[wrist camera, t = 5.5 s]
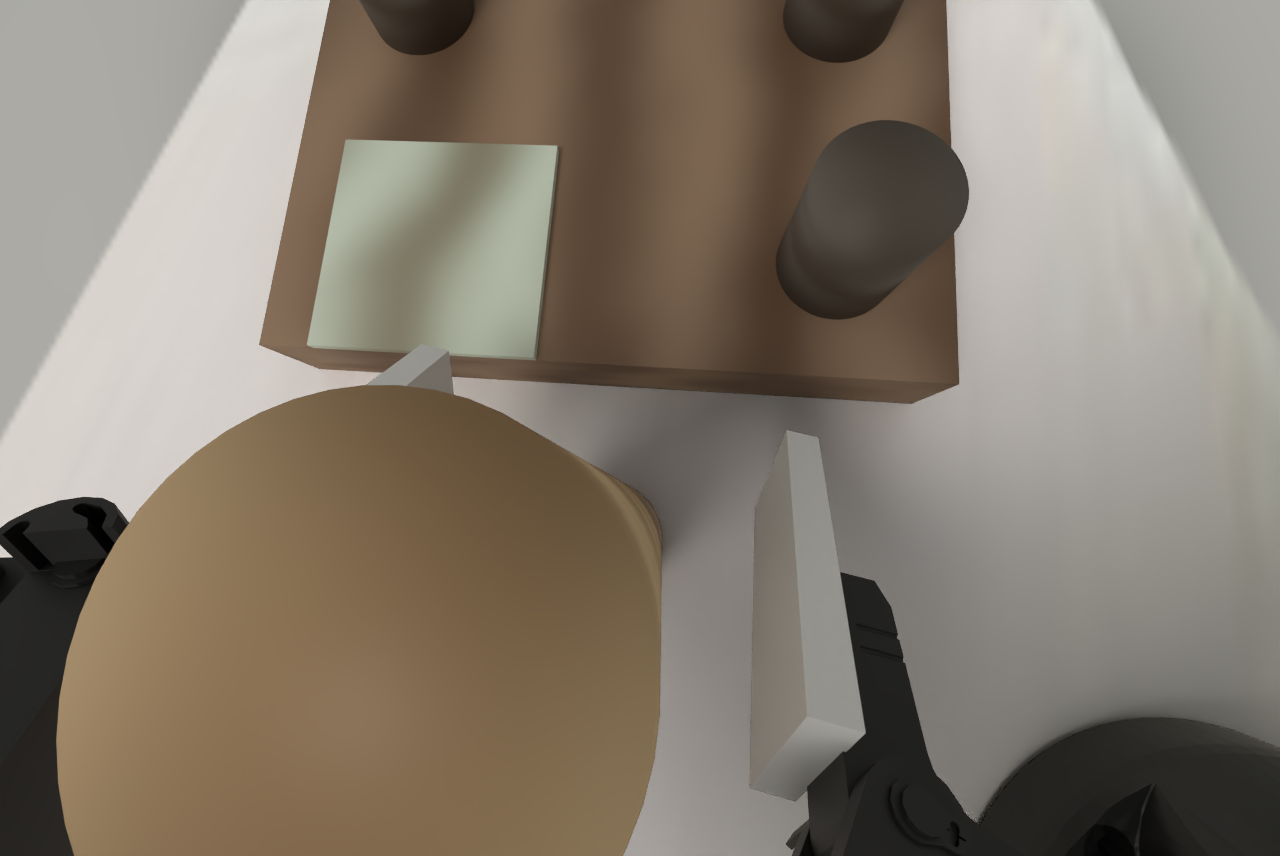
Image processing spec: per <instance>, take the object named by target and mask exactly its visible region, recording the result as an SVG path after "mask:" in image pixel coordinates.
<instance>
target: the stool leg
mask: <svg viewBox="0 0 1280 856" xmlns="http://www.w3.org/2000/svg"><path fill="white" fill-rule="evenodd" d="M661 581H662V532H661V526H660V522H659V519H658V517H657V514H656V512H655V510H654V509H653V507H652V505H651V504H650V503H649V501H648V500H647V499H646V498H645V497H644V496H643V495H642V494H640V493H639V492H638V491H636V490H635V489H633V488H631V487H630V486H628V485H626V484H625V483H623V482H621V481H619V480H618V479H616V478H614V477H612V476H611V475H609V474H607V473H605V472H604V471H602V470H600V469H598V468H597V467H595V466H593V465H592V464H590V463H588V462H586V461H585V460H583V459H581V458H579V457H578V456H576V455H574V454H572V453H571V452H569V451H567V450H565V449H564V448H562V447H560V446H559V445H557V444H555V443H553V442H552V441H550V440H548V439H546V438H545V437H543V436H541V435H539V434H538V433H536V432H534V431H532V430H531V429H529V428H527V427H526V426H524V425H522V424H520V423H519V422H517V421H515V420H513V419H512V418H510V417H508V416H506V415H505V414H503V413H501V412H499V411H496V410H494V409H492V408H489V407H487V406H484V405H482V404H480V403H477V402H475V401H473V400H470V399H467V398H464V397H460V396H456V395H452V394H449V393H445V392H441V391H438V390H433V389H425V388H418V387H410V386H402V385H362V386H355V387H348V388H340V389H333V390H327V391H323V392H319V393H315V394H312V395H308V396H304V397H300V398H297V399H293V400H291V401H288V402H286V403H283V404H281V405H278V406H276V407H273V408H271V409H268V410H266V411H263V412H261V413H258V414H257V415H255V416H253V417H251V418H249V419H247V420H246V421H244V422H242V423H240V424H238V425H236V426H235V427H233V428H231V429H229V430H227V431H226V432H224V433H223V434H221V435H220V436H219V437H217V438H216V439H214V440H213V441H212V442H210V443H209V444H207V445H206V446H205V447H203V448H202V449H200V450H199V451H197V452H196V453H195V454H194V455H193V456H191V457H190V458H189V459H188V460H187V461H186V462H185V463H184V464H182V465H181V466H180V467H179V468H178V469H177V470H176V471H175V472H173V473H172V474H171V475H170V476H169V477H168V478H167V479H166V480H165V481H164V482H163V483H162V484H161V485H160V486H159V488H158V489H157V490H156V491H155V492H154V493H153V494H152V495H151V497H150V498H149V499H148V500H147V501H146V502H145V503H144V504H143V505H142V507H141V508H140V509H139V510H138V512H137V513H136V514H135V516H134V517H133V519H132V520H131V521H130V523H129V524H128V526H127V527H126V528H125V530H124V531H123V533H122V534H121V535H120V537H119V538H118V540H117V541H116V543H115V544H114V546H113V548H112V550H111V551H110V553H109V555H108V557H107V559H106V560H105V562H104V564H103V566H102V567H101V569H100V571H99V573H98V574H97V576H96V578H95V581H94V583H93V585H92V588H91V590H90V592H89V595H88V597H87V599H86V602H85V604H84V606H83V609H82V611H81V613H80V616H79V619H78V622H77V626H76V629H75V632H74V635H73V639H72V642H71V645H70V648H69V652H68V655H67V660H66V665H65V670H64V676H63V681H62V686H61V692H60V697H59V710H58V724H57V738H56V745H57V767H58V785H59V791H60V797H61V803H62V809H63V815H64V821H65V826H66V830H67V833H68V836H69V840H70V843H71V846H72V850H73V853H74V856H623V854H624V852H625V850H626V848H627V845H628V843H629V840H630V838H631V835H632V832H633V830H634V827H635V825H636V822H637V819H638V817H639V814H640V811H641V809H642V806H643V803H644V799H645V795H646V791H647V787H648V783H649V779H650V775H651V771H652V767H653V763H654V758H655V749H656V741H657V733H658V725H659V717H660V659H661Z"/></svg>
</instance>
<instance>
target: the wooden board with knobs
mask: <svg viewBox="0 0 1280 856" xmlns="http://www.w3.org/2000/svg"><path fill="white" fill-rule="evenodd" d="M968 200H969V187H968V180H967V176H966V173H965V170H964V168H963V165H962V163H961V162H960V160H959V158H958V156H957V155H956V154H955V152H954V151H953V150H952V149H951V130H950V101H949V71H948V42H947V12H946V0H330V3H329V8H328V13H327V18H326V23H325V28H324V32H323V37H322V42H321V47H320V52H319V57H318V62H317V66H316V71H315V76H314V81H313V86H312V91H311V96H310V100H309V105H308V110H307V115H306V120H305V125H304V130H303V134H302V139H301V144H300V149H299V154H298V159H297V164H296V168H295V173H294V178H293V183H292V188H291V193H290V198H289V203H288V207H287V212H286V217H285V222H284V227H283V232H282V237H281V241H280V246H279V251H278V256H277V261H276V266H275V271H274V275H273V280H272V285H271V290H270V295H269V300H268V305H267V309H266V314H265V319H264V324H263V329H262V334H261V339H260V343H259V345H261V346H263V347H266V348H268V349H271V350H273V351H276V352H278V353H281V354H283V355H286V356H288V357H291V358H294V359H296V360H299V361H301V362H304V363H306V364H309V365H311V366H314V367H316V368H319V369H332V370H349V371H366V372H384V371H386V370H387V369H388V368H390V367H391V366H392V365H394V364H395V363H396V362H398V361H399V360H401V359H402V358H403V357H405V356H406V355H407V354H409V353H410V352H411V351H413V350H414V349H415V348H417V347H418V346H419V345H421V344H423V345H427V346H432V347H436V348H440V349H444V350H449V356H450V365H451V374H452V377H468V378H485V379H502V380H519V381H536V382H553V383H570V384H587V385H604V386H621V387H638V388H655V389H672V390H689V391H706V392H723V393H740V394H757V395H774V396H791V397H808V398H825V399H842V400H859V401H877V402H894V403H911V404H912V403H914V402H917V401H919V400H922V399H924V398H926V397H929V396H931V395H934V394H936V393H939V392H941V391H944V390H946V389H948V388H951V387H953V386H956V385H958V384H959V367H958V337H957V308H956V278H955V248H954V232H955V231H956V230H957V228H958V227H959V225H960V224H961V222H962V220H963V218H964V215H965V212H966V210H967V205H968Z"/></svg>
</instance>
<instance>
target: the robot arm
mask: <svg viewBox="0 0 1280 856" xmlns="http://www.w3.org/2000/svg"><path fill="white" fill-rule="evenodd" d="M367 385H402V386H410V387H418V388H425V389H433V390H438V391H441V392H445V393H449V394H452V395H454V391H453V383H452V374H451V365H450V356H449V350H444V349H440V348H436V347H432V346H427V345H423V344H421V345H419V346H418V347H417V348H415V349H414V350H413V351H411V352H410V353H409V354H407V355H406V356H405V357H403V358H402V359H401V360H399V361H398V362H396V363H395V364H394V365H392V366H391V367H390V368H388V369H387V370H386V371H384V372H383V373H382V374H380V375H379V376H378V377H376V378H375V379H374V380H372V381H371V382H369V383H368V384H367ZM128 524H129V522H128V521H127V520H126V518H125V517H124V516H123V514H122V513H121V512H120V510H119V509H118V508H117V506H116V505H115V504H114V503H112V502H110V501H108V500H106V499H103V498H92V497H80V498H74V499H67V500H61V501H57V502H54V503H51V504H48V505H45V506H42V507H38V508H35V509H33V510H31V511H29V512H27V513H25V514H23V515H21V516H19V517H17V518H15V519H13V520H11V521H9V522H8V523H6V524H5V525H4V526H2V527H1V528H0V545H1V546H2V547H3V548H4V549H5V550H6V551H7V552H8V553H9V554H10V555H11V556H12V558H0V856H74V853H73V850H72V846H71V843H70V840H69V836H68V833H67V830H66V826H65V821H64V815H63V809H62V803H61V797H60V791H59V785H58V767H57V745H56V738H57V724H58V710H59V697H60V692H61V686H62V681H63V676H64V670H65V665H66V660H67V655H68V652H69V648H70V645H71V642H72V639H73V635H74V632H75V629H76V626H77V622H78V619H79V616H80V613H81V611H82V609H83V606H84V604H85V602H86V599H87V597H88V595H89V592H90V590H91V588H92V585H93V583H94V581H95V578H96V576H97V574H98V573H99V571H100V569H101V567H102V566H103V564H104V562H105V560H106V559H107V557H108V555H109V553H110V551H111V550H112V548H113V546H114V544H115V543H116V541H117V540H118V538H119V537H120V535H121V534H122V533H123V531H124V530H125V528H126V527H127V526H128ZM897 635H898V633H897V629H896V625H895V621H894V617H893V613H892V609H891V606H890V605H889V603H888V602H887V600H886V598H885V597H884V595H883V594H882V592H881V591H880V589H879V588H878V586H877V584H876V583H875V581H872V580H869V579H865V578H861V577H857V576H853V575H849V574H845V573H841V572H840V569H839V563H838V557H837V551H836V544H835V538H834V532H833V526H832V520H831V513H830V507H829V501H828V495H827V488H826V482H825V476H824V470H823V463H822V457H821V451H820V445H819V439H818V437H815V436H810V435H806V434H802V433H797V432H793V431H789V430H787V431H786V433H785V436H784V438H783V441H782V443H781V445H780V448H779V450H778V453H777V455H776V458H775V460H774V463H773V465H772V467H771V470H770V472H769V475H768V477H767V480H766V482H765V485H764V487H763V489H762V492H761V494H760V497H759V499H758V502H757V504H756V507H755V524H754V577H753V629H752V682H751V734H750V787H749V788H752V789H755V790H759V791H762V792H765V793H769V794H772V795H775V796H779V797H782V798H785V799H789V800H792V801H796V800H797V799H798V798H800V797H801V796H802V795H803V794H804V793H805V792H806V791H807V792H808V808H809V820H807V821H806V822H805V823H804V824H803V825H802V826H801V827H799V828H798V829H797V830H796V831H795V832H794V833H793V834H792V836H791V837H790V838H789V840H788V841H787V843H786V845H787V846H788V847H789V848H790V849H791V850H792V849H793V848H795V849H794V851H793V854H792V856H1280V748H1278V747H1276V746H1273V745H1271V744H1268V743H1266V742H1263V741H1261V740H1258V739H1256V738H1253V737H1250V736H1248V735H1245V734H1242V733H1239V732H1236V731H1234V730H1230V729H1227V728H1223V727H1220V726H1216V725H1212V724H1207V723H1202V722H1198V721H1191V720H1183V719H1172V718H1141V719H1131V720H1124V721H1118V722H1113V723H1108V724H1104V725H1101V726H1097V727H1094V728H1091V729H1088V730H1085V731H1083V732H1080V733H1077V734H1075V735H1073V736H1071V737H1069V738H1067V739H1065V740H1063V741H1061V742H1059V743H1057V744H1056V745H1054V746H1052V747H1051V748H1049V749H1047V750H1046V751H1045V752H1043V753H1042V754H1040V755H1039V756H1037V757H1036V758H1035V759H1034V760H1032V761H1031V762H1030V763H1029V764H1028V765H1027V766H1025V767H1024V768H1023V769H1022V770H1021V771H1020V772H1019V773H1018V774H1017V775H1016V776H1015V777H1014V778H1013V779H1012V780H1011V781H1010V782H1009V784H1008V785H1007V786H1006V787H1005V788H1004V790H1003V791H1002V792H1001V793H1000V795H999V796H998V798H997V799H996V800H995V802H994V803H993V805H992V806H991V808H990V809H989V811H988V813H987V814H986V816H985V818H984V820H983V821H982V823H981V825H978V824H977V823H976V822H974V821H973V820H972V819H970V818H969V817H968V816H967V815H966V814H965V813H964V811H963V808H962V807H961V805H960V804H959V802H958V801H957V799H956V798H955V796H954V795H953V793H952V792H951V791H950V789H949V788H948V786H947V785H946V784H945V783H944V782H943V781H942V780H941V779H940V778H939V777H937V775H936V773H935V772H934V770H933V768H932V765H931V762H930V759H929V756H928V753H927V750H926V746H925V742H924V738H923V734H922V730H921V726H920V722H919V718H918V714H917V710H916V706H915V702H914V698H913V694H912V690H911V685H910V681H909V677H908V673H907V669H906V665H905V663H903V653H902V649H901V645H900V641H899V640H898V639H897Z"/></svg>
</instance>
